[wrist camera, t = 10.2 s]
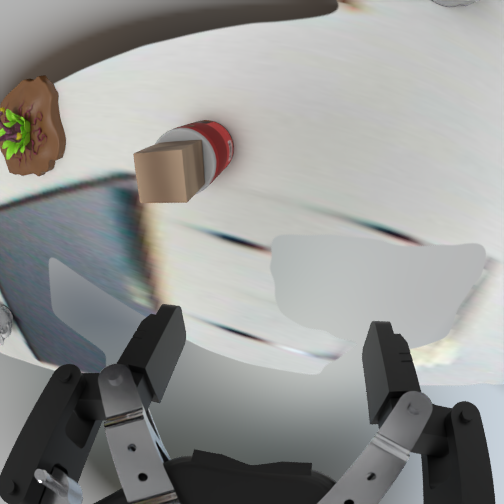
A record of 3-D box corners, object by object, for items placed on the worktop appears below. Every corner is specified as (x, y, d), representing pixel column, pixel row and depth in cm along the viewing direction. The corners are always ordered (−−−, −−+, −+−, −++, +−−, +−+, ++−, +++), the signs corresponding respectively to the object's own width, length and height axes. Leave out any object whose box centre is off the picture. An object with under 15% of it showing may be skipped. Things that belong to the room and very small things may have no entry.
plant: (0, 98, 40) (-39, 108, 30) (56, 63, 36) (11, 67, 27) (15, 182, 49) (-20, 202, 39) (72, 165, 46) (31, 186, 36)
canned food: (209, 109, 39) (182, 114, 29) (246, 150, 41) (230, 168, 31) (172, 143, 42) (137, 159, 32) (207, 182, 44) (182, 209, 35)
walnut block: (201, 139, 30) (181, 149, 25) (205, 183, 33) (187, 202, 28) (159, 142, 31) (133, 153, 26) (163, 184, 33) (140, 203, 28)
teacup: (29, 332, 75) (13, 352, 66) (5, 322, 77) (-10, 339, 68) (15, 303, 69) (-4, 323, 60) (-8, 294, 71) (-26, 312, 62)
